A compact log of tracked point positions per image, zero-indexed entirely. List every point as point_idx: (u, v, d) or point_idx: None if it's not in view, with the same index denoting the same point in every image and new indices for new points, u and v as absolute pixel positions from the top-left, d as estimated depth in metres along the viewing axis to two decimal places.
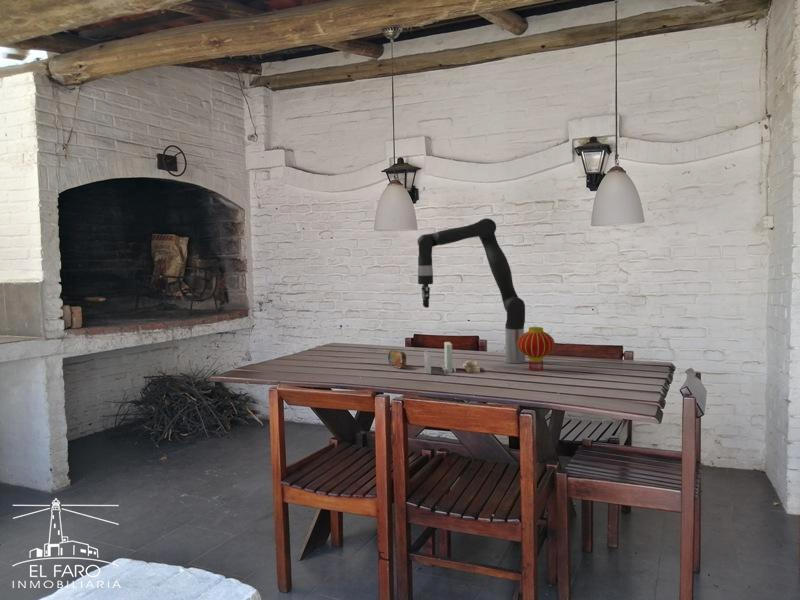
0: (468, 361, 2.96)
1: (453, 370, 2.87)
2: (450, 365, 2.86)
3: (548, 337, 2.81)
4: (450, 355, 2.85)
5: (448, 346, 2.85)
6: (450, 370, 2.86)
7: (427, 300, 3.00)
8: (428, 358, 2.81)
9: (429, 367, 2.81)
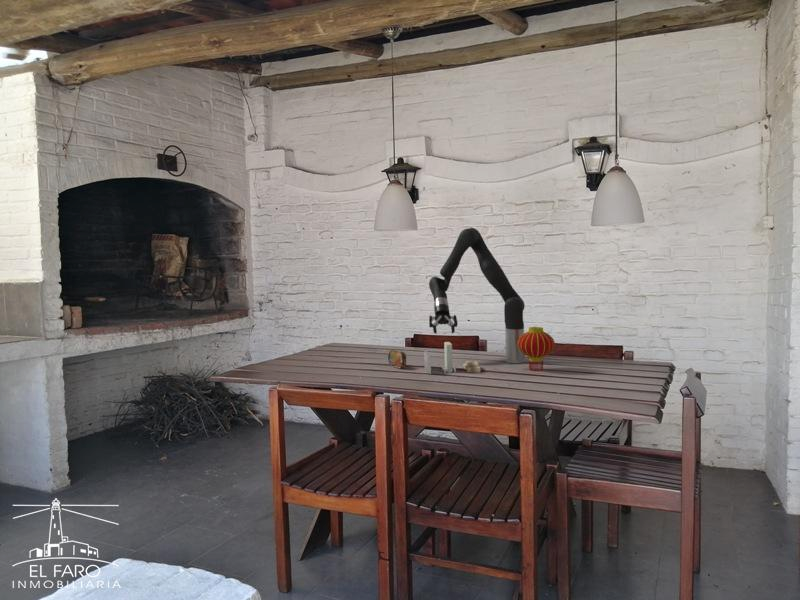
0: (469, 361, 2.96)
1: (453, 370, 2.87)
2: (450, 365, 2.86)
3: (548, 337, 2.81)
4: (450, 355, 2.85)
5: (448, 346, 2.85)
6: (450, 370, 2.86)
7: (433, 326, 3.07)
8: (428, 358, 2.81)
9: (429, 367, 2.81)
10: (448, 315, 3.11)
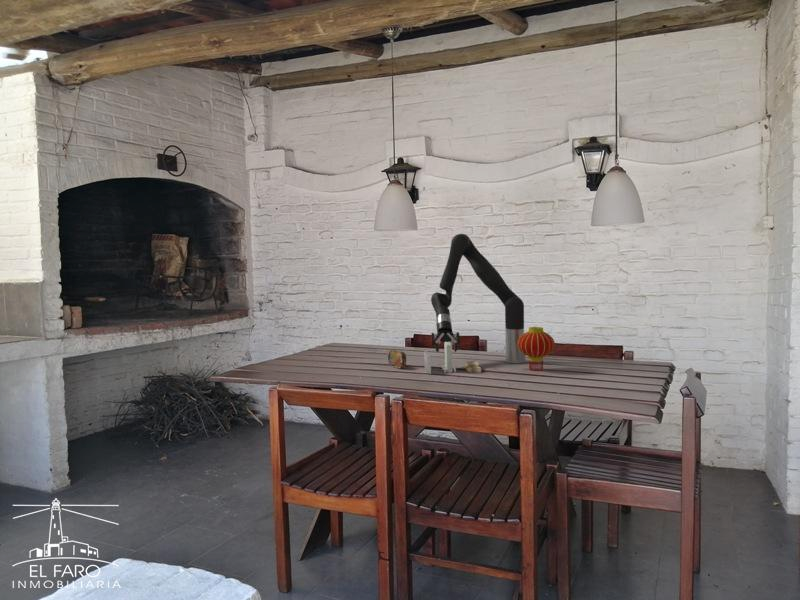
0: (469, 361, 2.96)
1: (453, 370, 2.87)
2: (450, 365, 2.86)
3: (548, 337, 2.81)
4: (450, 355, 2.85)
5: (448, 346, 2.85)
6: (450, 370, 2.86)
7: (435, 344, 2.97)
8: (428, 358, 2.81)
9: (429, 367, 2.81)
10: (451, 332, 3.01)
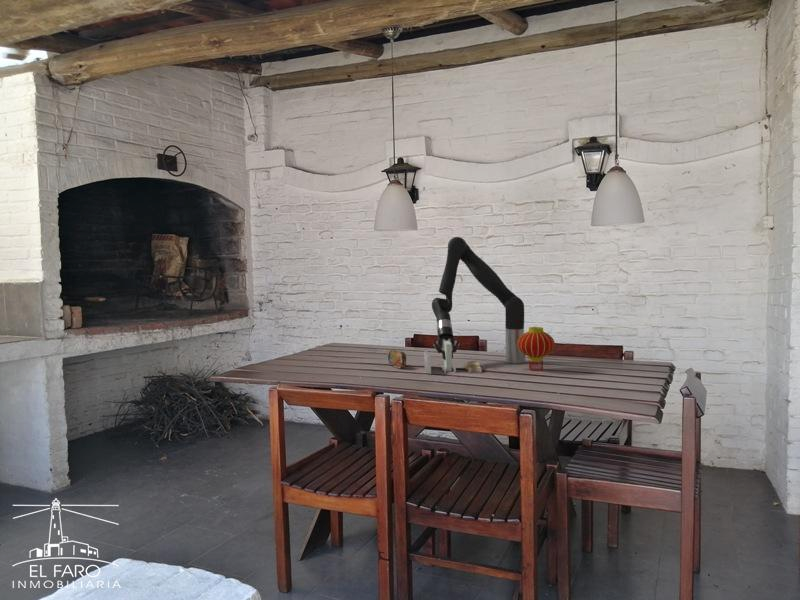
0: (469, 361, 2.96)
1: (453, 370, 2.87)
2: (449, 364, 2.87)
3: (548, 337, 2.81)
4: (449, 354, 2.87)
5: (448, 345, 2.87)
6: (449, 369, 2.88)
7: (442, 352, 2.93)
8: (428, 358, 2.81)
9: (429, 367, 2.81)
10: (452, 338, 2.98)
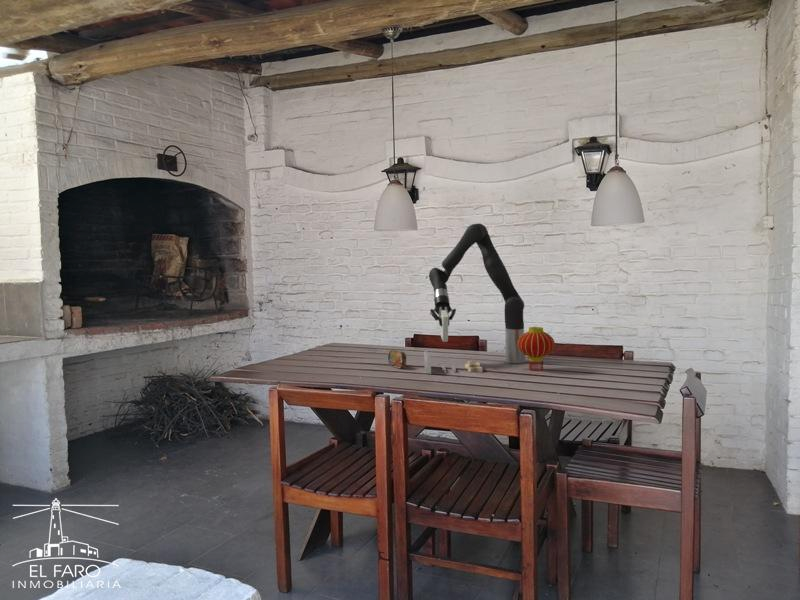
0: (470, 361, 2.96)
1: (453, 370, 2.87)
2: (446, 335, 3.00)
3: (548, 337, 2.81)
4: (446, 326, 2.98)
5: (445, 318, 2.97)
6: (446, 340, 3.01)
7: (439, 319, 3.04)
8: (428, 358, 2.81)
9: (429, 367, 2.81)
10: (449, 306, 3.09)
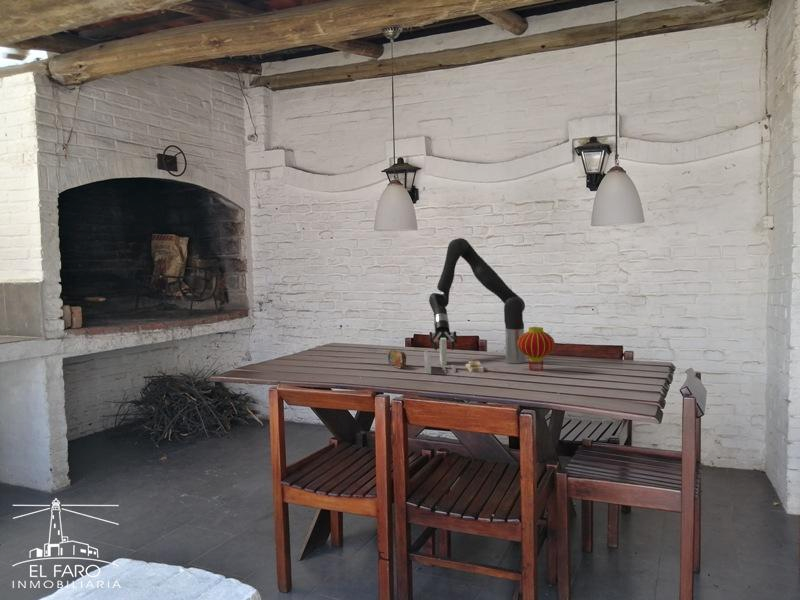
0: (471, 361, 2.96)
1: (453, 370, 2.87)
2: (444, 358, 3.05)
3: (548, 337, 2.81)
4: (444, 349, 3.05)
5: (443, 340, 3.05)
6: (445, 363, 3.05)
7: (433, 343, 3.09)
8: (428, 358, 2.81)
9: (429, 367, 2.81)
10: (448, 331, 3.13)
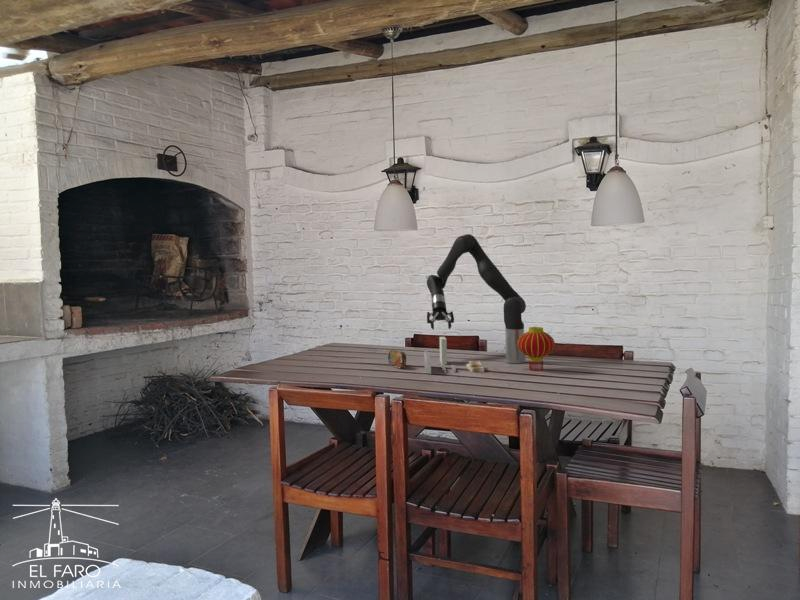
0: (472, 361, 2.96)
1: (453, 370, 2.87)
2: (444, 358, 3.05)
3: (548, 337, 2.81)
4: (445, 349, 3.05)
5: (443, 340, 3.05)
6: (445, 363, 3.05)
7: (430, 322, 3.20)
8: (428, 358, 2.81)
9: (429, 367, 2.81)
10: (445, 311, 3.24)
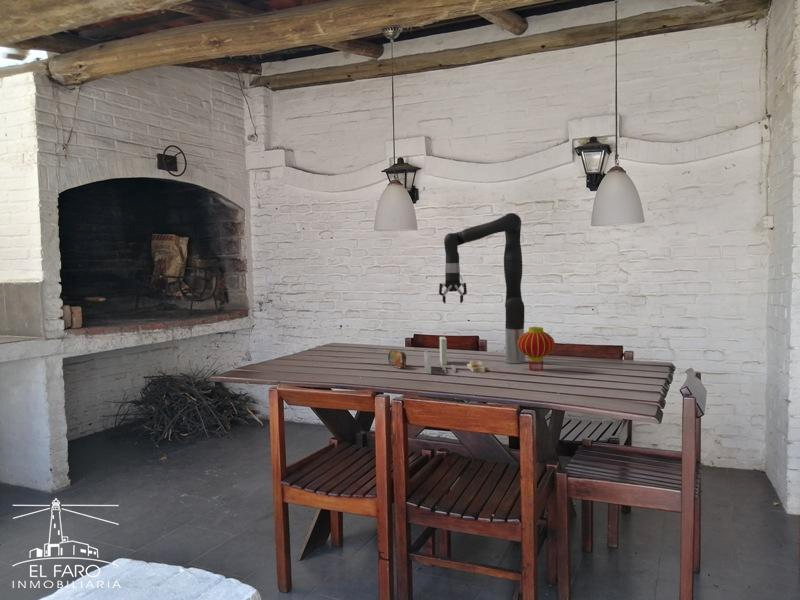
0: (472, 361, 2.96)
1: (453, 370, 2.87)
2: (444, 358, 3.05)
3: (548, 337, 2.81)
4: (445, 349, 3.05)
5: (443, 340, 3.05)
6: (445, 363, 3.05)
7: None
8: (428, 358, 2.81)
9: (429, 367, 2.81)
10: (458, 283, 3.14)
